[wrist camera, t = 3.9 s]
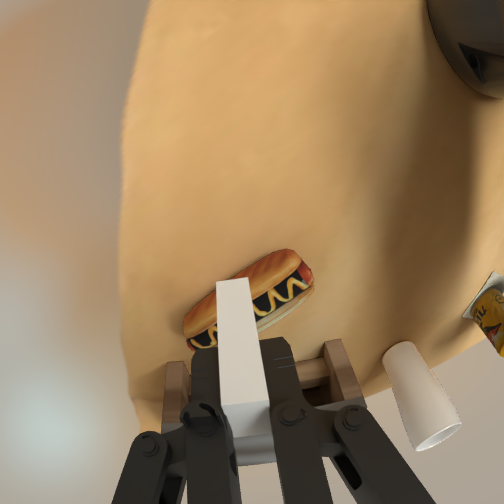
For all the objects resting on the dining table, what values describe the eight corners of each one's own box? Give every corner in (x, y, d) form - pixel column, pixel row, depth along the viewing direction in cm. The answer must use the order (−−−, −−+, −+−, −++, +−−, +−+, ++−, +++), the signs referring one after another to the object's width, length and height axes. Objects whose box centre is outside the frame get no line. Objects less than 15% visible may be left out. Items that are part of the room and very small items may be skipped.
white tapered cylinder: (404, 329, 36) (454, 421, 23) (424, 343, 38) (468, 423, 26) (367, 360, 38) (405, 452, 25) (390, 370, 41) (425, 451, 28)
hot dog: (315, 264, 29) (330, 298, 24) (210, 332, 32) (210, 368, 28) (286, 228, 26) (299, 260, 22) (176, 306, 30) (172, 343, 26)
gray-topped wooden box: (167, 362, 34) (160, 435, 26) (340, 338, 35) (367, 407, 26) (191, 409, 40) (191, 468, 32) (331, 390, 41) (348, 447, 33)
